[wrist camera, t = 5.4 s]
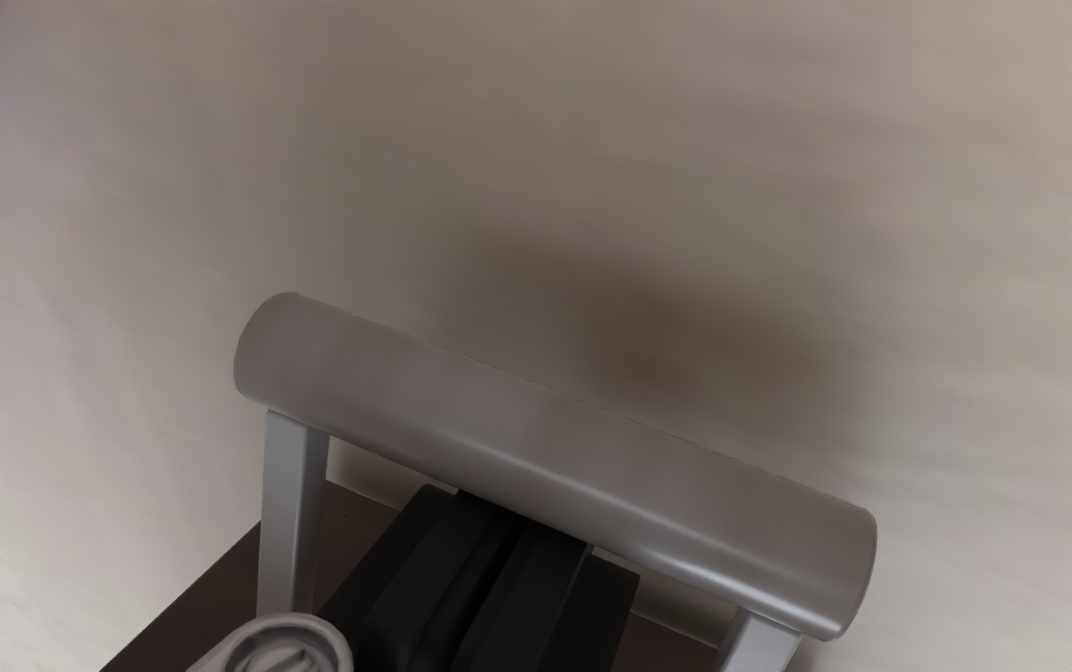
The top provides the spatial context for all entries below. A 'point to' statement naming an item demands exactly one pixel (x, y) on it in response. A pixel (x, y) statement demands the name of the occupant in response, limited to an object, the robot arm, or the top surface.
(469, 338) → the top surface
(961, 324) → the top surface
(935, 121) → the top surface
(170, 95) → the top surface
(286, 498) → the drawer
